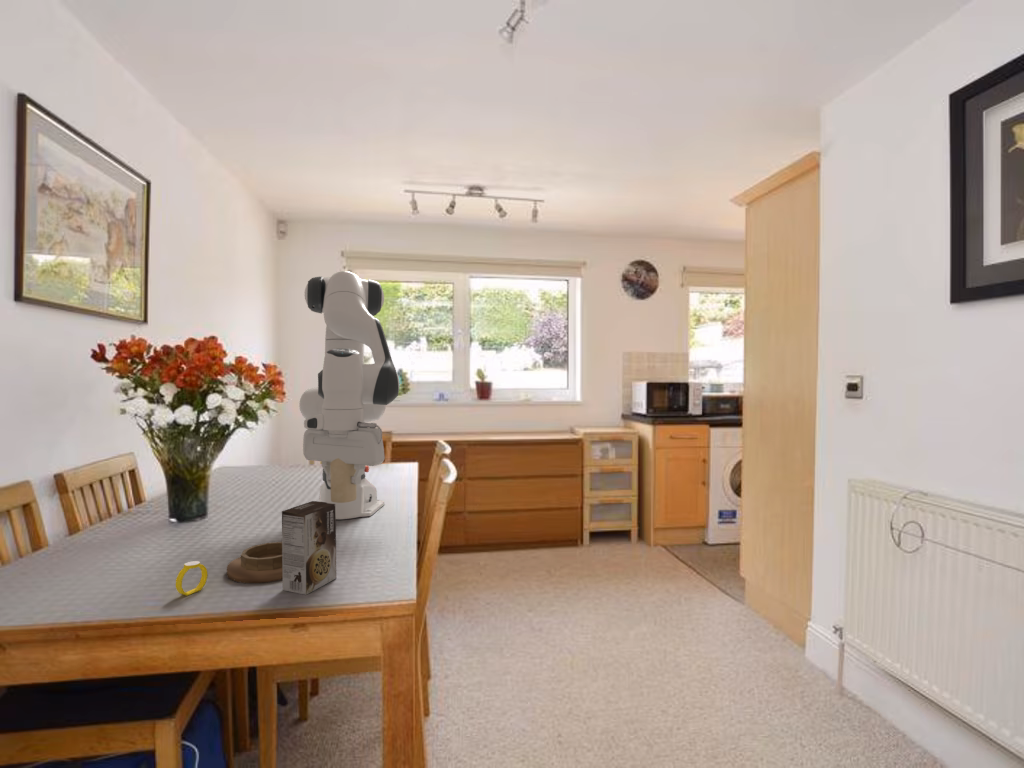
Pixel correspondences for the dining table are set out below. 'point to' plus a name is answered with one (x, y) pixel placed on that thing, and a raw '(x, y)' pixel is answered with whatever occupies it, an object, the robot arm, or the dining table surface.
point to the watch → (181, 574)
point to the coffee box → (308, 546)
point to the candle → (342, 481)
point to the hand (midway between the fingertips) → (343, 482)
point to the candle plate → (252, 575)
